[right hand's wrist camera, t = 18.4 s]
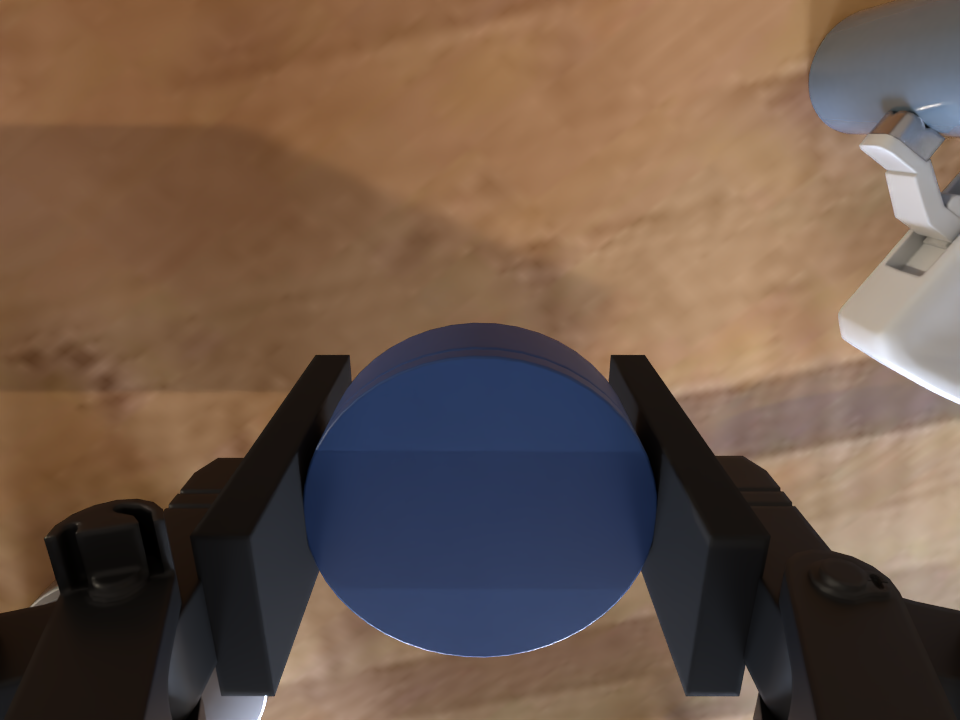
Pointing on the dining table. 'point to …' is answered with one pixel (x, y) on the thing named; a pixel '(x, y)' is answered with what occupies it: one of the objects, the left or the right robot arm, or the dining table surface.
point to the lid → (480, 493)
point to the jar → (890, 67)
